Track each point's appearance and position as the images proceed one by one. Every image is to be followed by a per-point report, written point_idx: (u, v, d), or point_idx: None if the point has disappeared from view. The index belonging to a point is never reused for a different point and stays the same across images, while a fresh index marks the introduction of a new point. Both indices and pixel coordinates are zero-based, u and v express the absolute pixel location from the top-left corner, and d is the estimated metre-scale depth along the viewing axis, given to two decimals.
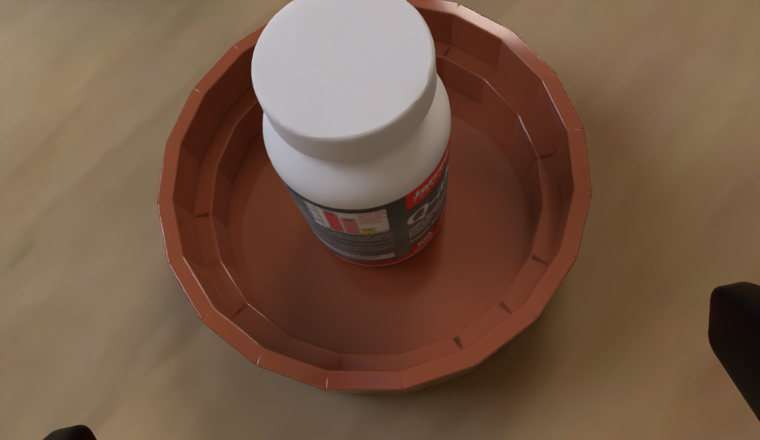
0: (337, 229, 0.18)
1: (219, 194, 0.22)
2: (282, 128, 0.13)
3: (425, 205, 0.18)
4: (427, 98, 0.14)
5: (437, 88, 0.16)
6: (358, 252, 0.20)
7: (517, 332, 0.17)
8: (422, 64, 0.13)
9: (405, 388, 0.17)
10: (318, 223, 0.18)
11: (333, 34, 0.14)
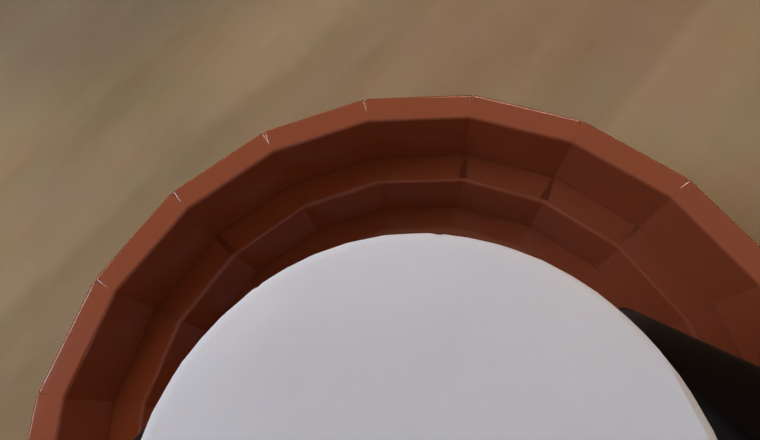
0: None
1: None
2: None
3: None
4: None
5: None
6: None
7: None
8: None
9: None
10: None
11: (386, 432, 0.04)
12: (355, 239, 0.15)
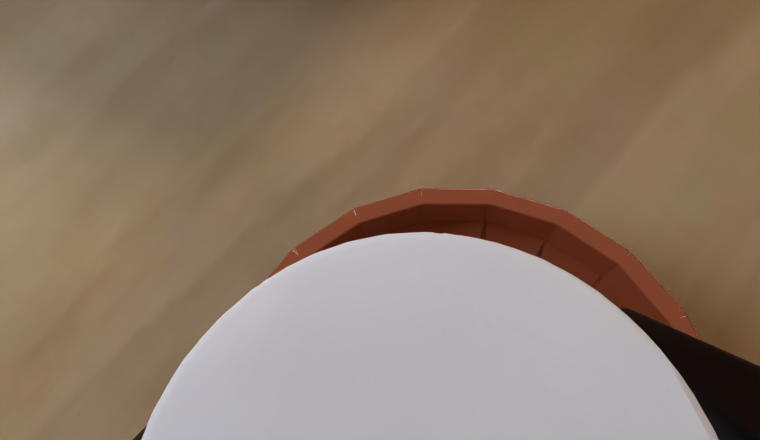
0: None
1: None
2: None
3: None
4: None
5: None
6: None
7: None
8: None
9: None
10: None
11: (386, 432, 0.04)
12: None
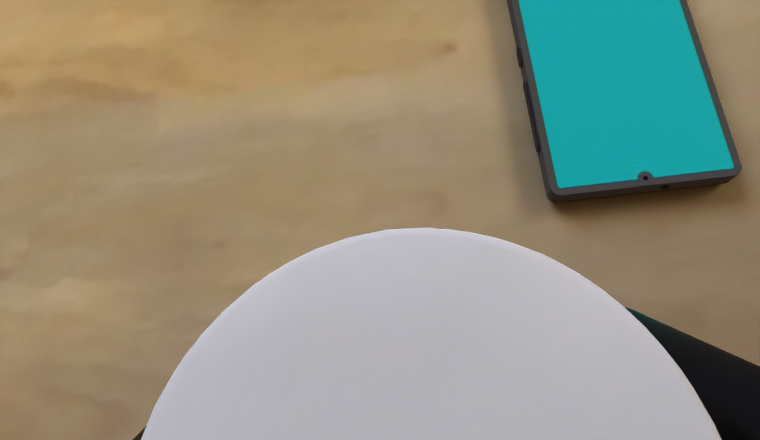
0: None
1: None
2: None
3: None
4: None
5: None
6: None
7: None
8: None
9: None
10: None
11: (387, 426, 0.04)
12: None
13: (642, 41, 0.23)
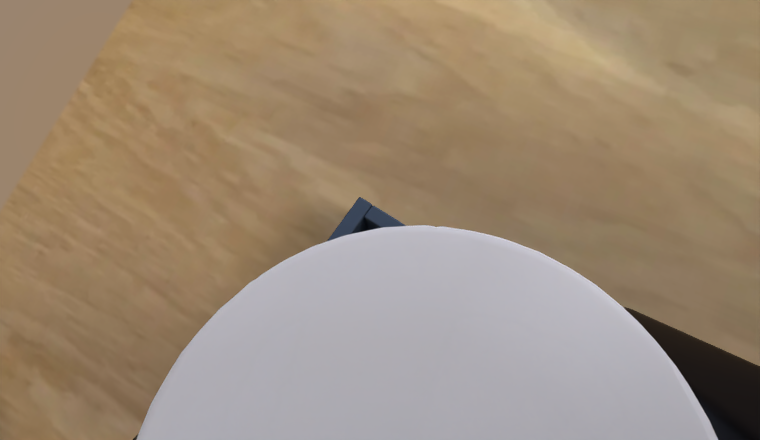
0: None
1: None
2: None
3: None
4: None
5: None
6: None
7: None
8: None
9: None
10: None
11: (383, 422, 0.04)
12: None
13: None
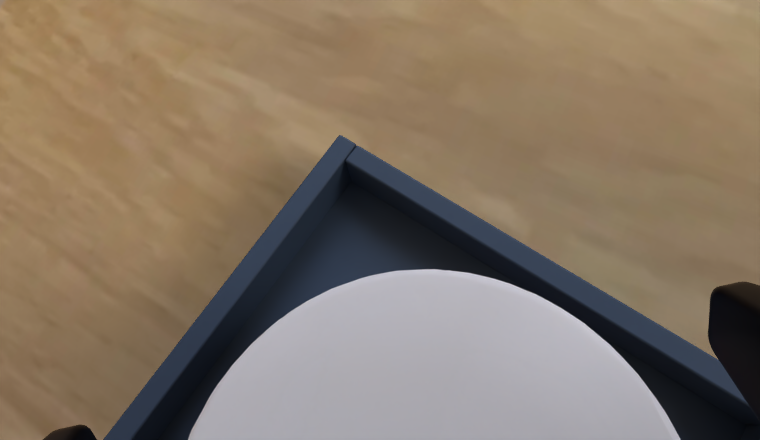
0: None
1: None
2: None
3: None
4: None
5: None
6: None
7: None
8: None
9: None
10: None
11: None
12: None
13: None
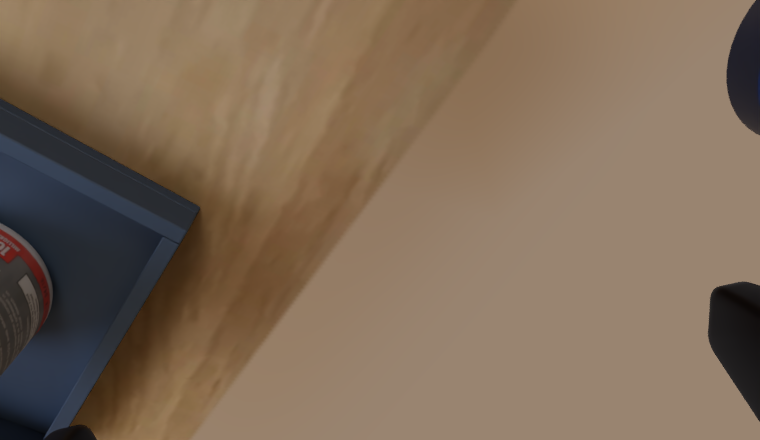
0: None
1: None
2: None
3: None
4: None
5: None
6: (25, 321, 0.18)
7: None
8: None
9: None
10: None
11: None
12: None
13: None
